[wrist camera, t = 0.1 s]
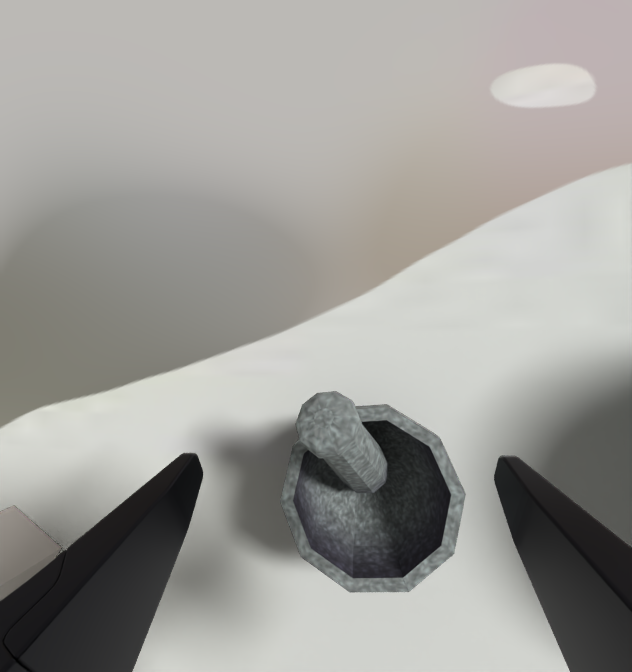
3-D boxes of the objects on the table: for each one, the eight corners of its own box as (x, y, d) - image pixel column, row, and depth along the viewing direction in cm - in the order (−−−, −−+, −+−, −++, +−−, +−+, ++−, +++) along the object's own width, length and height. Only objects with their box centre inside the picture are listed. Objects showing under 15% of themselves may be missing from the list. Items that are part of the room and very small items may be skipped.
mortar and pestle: (452, 502, 23) (563, 650, 11) (333, 547, 23) (313, 735, 11) (388, 358, 24) (422, 350, 12) (277, 404, 25) (209, 439, 13)
